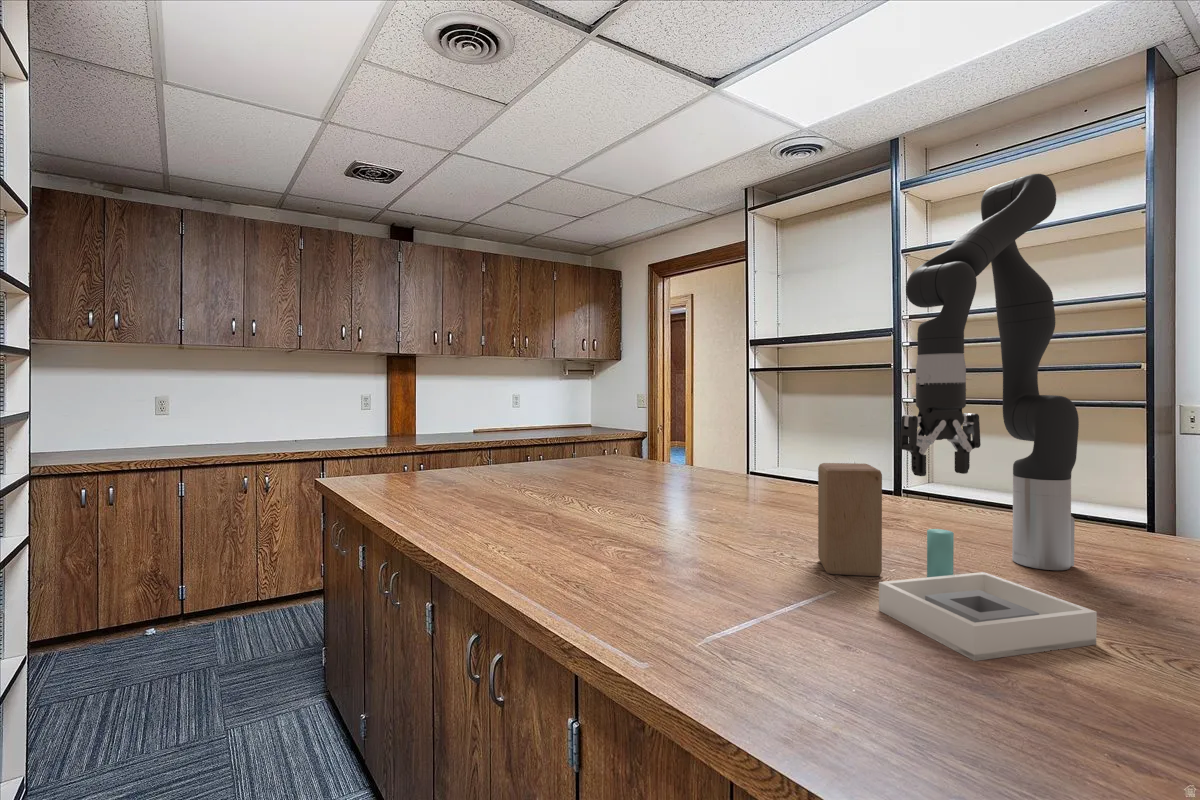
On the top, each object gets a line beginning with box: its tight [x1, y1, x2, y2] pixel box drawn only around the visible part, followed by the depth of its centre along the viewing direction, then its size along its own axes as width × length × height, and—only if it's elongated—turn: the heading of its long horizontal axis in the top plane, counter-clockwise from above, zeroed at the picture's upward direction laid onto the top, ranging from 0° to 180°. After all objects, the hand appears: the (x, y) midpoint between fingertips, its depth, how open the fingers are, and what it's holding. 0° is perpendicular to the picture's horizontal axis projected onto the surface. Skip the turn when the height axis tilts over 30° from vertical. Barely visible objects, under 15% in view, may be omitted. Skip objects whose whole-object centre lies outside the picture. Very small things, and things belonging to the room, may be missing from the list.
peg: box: [926, 528, 955, 578], centre depth 104 cm, size 4×4×10 cm
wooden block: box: [817, 462, 883, 577], centre depth 116 cm, size 10×10×20 cm
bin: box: [878, 571, 1098, 662], centre depth 88 cm, size 20×18×4 cm
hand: (940, 474), depth 104 cm, fingers open, 8 cm apart
